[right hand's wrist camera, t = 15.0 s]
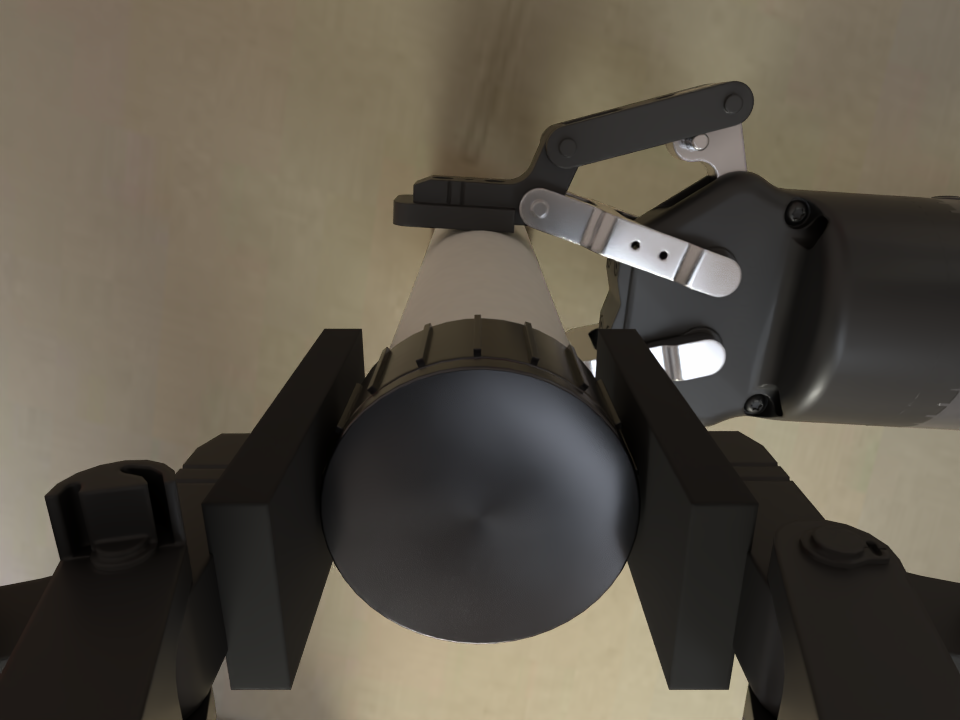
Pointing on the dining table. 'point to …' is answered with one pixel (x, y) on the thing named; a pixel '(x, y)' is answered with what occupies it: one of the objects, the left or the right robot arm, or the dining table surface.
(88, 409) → the dining table surface
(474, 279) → the bottle
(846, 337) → the left robot arm
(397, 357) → the lid
